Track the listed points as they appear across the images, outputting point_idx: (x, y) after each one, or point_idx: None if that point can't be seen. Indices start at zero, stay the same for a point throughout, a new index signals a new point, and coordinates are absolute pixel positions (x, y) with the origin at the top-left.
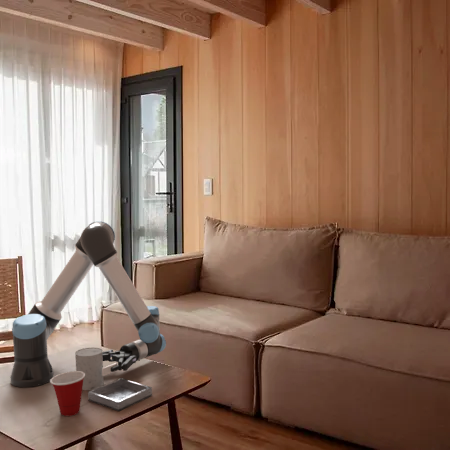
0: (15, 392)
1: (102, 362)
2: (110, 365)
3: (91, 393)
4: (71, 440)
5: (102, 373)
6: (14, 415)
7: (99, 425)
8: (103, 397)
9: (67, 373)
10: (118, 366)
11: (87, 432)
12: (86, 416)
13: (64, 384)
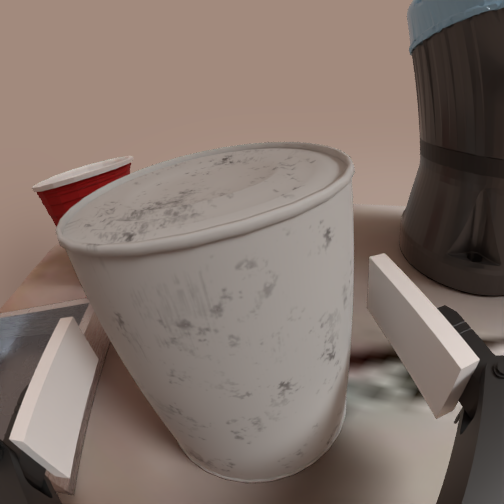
0: (377, 216)
1: (117, 352)
2: (36, 375)
3: (83, 300)
4: (49, 252)
5: (87, 347)
6: None
7: (22, 289)
8: (31, 308)
9: (107, 169)
10: (7, 438)
11: (34, 270)
12: (63, 287)
13: (68, 173)
